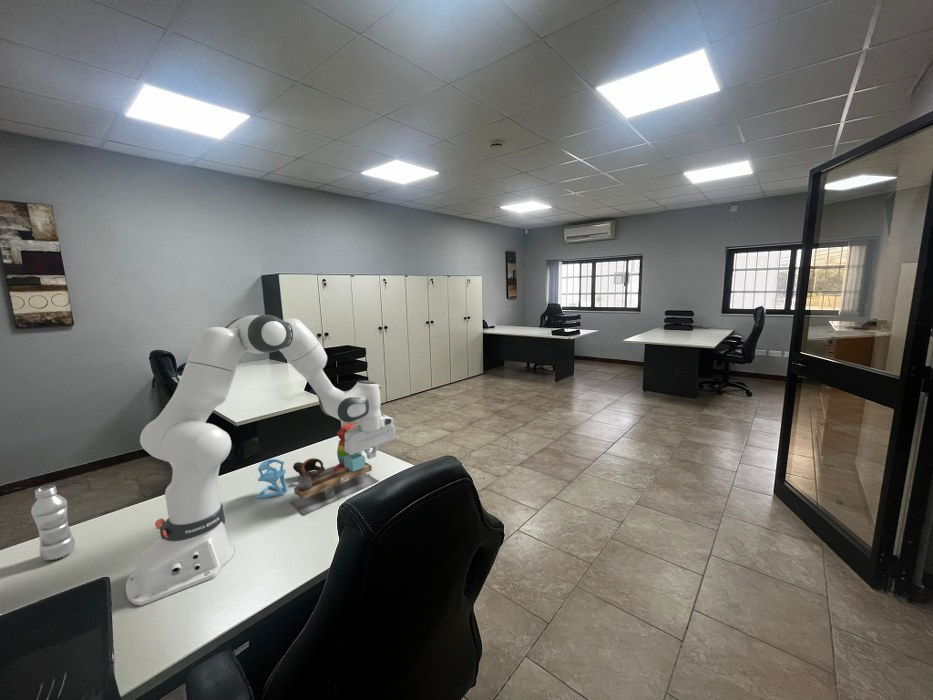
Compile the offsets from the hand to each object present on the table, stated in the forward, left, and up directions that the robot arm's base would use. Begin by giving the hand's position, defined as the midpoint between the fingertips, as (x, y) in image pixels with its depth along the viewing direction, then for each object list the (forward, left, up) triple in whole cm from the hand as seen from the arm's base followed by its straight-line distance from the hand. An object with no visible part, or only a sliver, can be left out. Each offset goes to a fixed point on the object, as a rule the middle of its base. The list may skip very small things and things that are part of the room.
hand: (371, 457), depth 143 cm
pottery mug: (-16, +18, -8) cm, 25 cm away
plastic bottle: (-82, +27, -8) cm, 87 cm away
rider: (-7, 0, -3) cm, 8 cm away
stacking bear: (-2, +13, -8) cm, 15 cm away
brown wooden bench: (-15, 0, -7) cm, 17 cm away
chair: (-30, +16, -8) cm, 35 cm away
